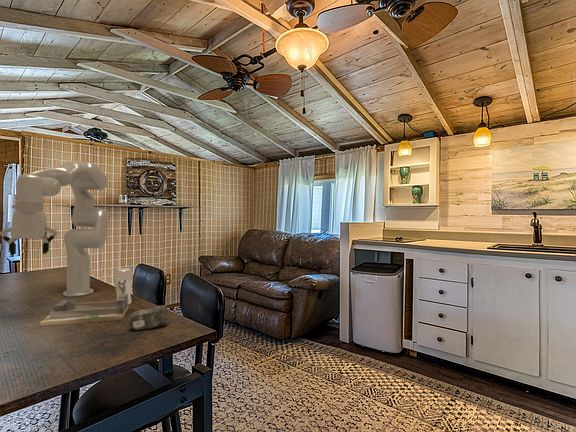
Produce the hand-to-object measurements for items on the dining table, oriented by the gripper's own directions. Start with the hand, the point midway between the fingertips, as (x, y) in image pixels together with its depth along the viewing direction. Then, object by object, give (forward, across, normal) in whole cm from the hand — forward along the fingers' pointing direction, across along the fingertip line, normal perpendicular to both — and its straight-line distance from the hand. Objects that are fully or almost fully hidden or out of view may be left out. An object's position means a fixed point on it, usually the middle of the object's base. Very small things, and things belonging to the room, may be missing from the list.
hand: (29, 253), depth 122 cm
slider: (+23, +12, -5) cm, 26 cm away
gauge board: (+24, +20, -4) cm, 32 cm away
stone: (+25, +42, -25) cm, 55 cm away
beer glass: (+24, +31, +10) cm, 41 cm away
